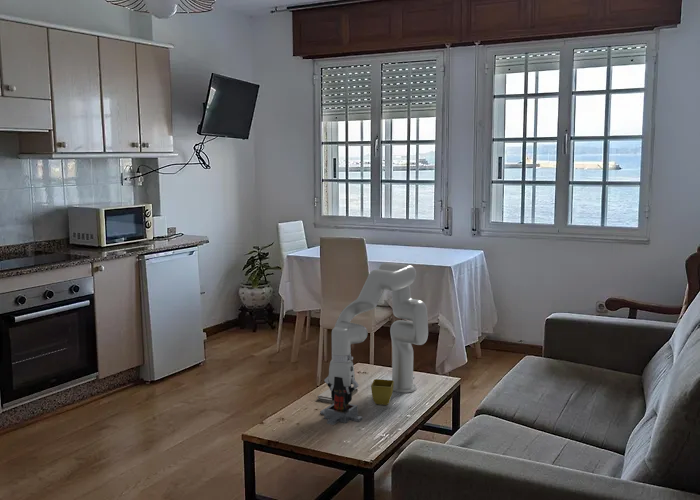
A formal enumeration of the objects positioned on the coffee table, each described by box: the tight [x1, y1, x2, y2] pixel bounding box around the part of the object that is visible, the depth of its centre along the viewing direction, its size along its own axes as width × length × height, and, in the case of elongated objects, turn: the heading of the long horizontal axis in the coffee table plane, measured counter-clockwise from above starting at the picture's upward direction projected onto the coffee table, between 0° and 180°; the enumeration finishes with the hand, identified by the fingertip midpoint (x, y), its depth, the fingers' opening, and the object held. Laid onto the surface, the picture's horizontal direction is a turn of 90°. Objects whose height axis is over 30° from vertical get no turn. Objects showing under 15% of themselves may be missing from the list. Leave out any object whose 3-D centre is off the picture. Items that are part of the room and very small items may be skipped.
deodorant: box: [334, 377, 350, 412], centre depth 269 cm, size 6×6×15 cm
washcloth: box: [317, 387, 359, 404], centre depth 294 cm, size 12×18×3 cm, turn 155°
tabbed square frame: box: [320, 403, 363, 426], centre depth 270 cm, size 18×18×4 cm
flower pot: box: [370, 378, 394, 406], centre depth 285 cm, size 9×9×9 cm
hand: (341, 400), depth 269 cm, fingers closed on deodorant, 5 cm apart
